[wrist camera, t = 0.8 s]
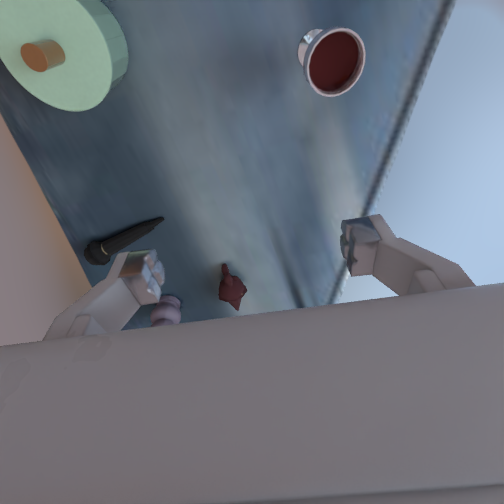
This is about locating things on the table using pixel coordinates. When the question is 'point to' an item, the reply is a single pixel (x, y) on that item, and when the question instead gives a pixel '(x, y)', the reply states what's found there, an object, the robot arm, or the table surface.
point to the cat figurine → (166, 312)
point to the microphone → (116, 243)
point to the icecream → (231, 288)
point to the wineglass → (332, 59)
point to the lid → (56, 52)
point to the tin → (110, 37)
